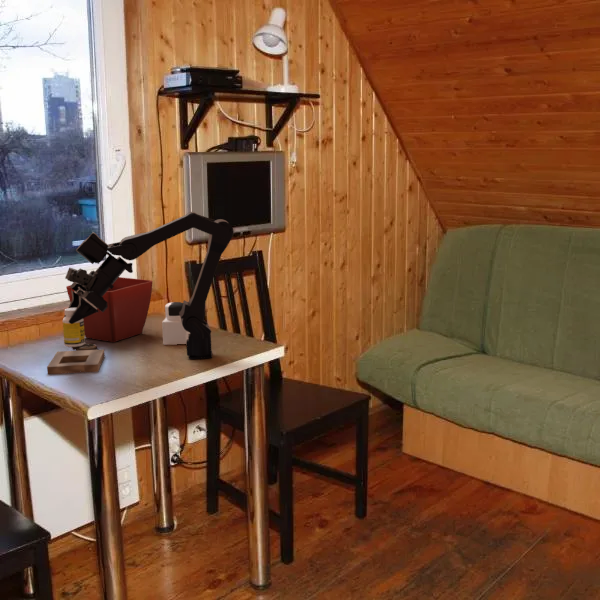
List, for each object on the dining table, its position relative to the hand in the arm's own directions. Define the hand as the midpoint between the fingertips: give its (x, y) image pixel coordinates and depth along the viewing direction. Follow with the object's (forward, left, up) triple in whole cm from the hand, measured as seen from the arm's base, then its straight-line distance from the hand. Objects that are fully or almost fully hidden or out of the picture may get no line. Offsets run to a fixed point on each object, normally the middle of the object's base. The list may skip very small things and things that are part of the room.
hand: (67, 320), depth 205 cm
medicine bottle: (-27, -24, -14) cm, 39 cm away
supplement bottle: (-1, 0, -7) cm, 7 cm away
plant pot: (-7, -35, -14) cm, 38 cm away
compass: (0, -20, -14) cm, 24 cm away
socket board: (-1, -4, -13) cm, 14 cm away
